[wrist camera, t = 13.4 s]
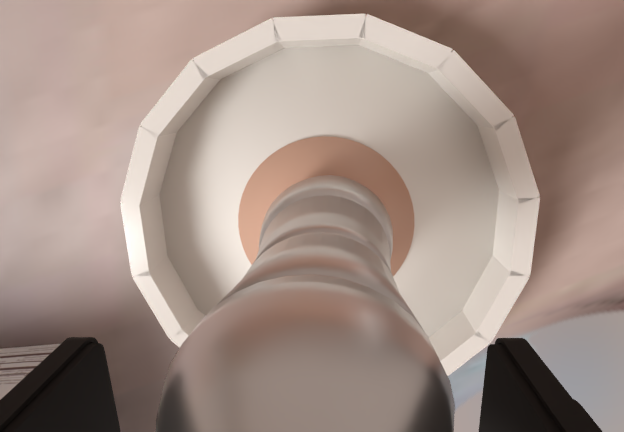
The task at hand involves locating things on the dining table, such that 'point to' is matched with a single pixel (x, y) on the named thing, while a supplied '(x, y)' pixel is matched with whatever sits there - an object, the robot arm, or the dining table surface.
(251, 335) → the plastic bottle
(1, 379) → the supplement box
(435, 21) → the dining table surface
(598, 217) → the dining table surface
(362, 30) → the round tray
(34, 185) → the dining table surface
